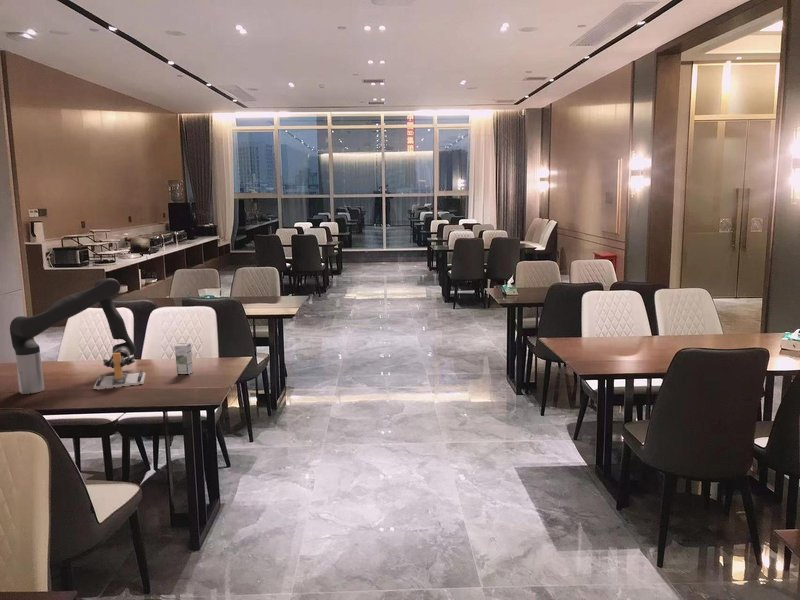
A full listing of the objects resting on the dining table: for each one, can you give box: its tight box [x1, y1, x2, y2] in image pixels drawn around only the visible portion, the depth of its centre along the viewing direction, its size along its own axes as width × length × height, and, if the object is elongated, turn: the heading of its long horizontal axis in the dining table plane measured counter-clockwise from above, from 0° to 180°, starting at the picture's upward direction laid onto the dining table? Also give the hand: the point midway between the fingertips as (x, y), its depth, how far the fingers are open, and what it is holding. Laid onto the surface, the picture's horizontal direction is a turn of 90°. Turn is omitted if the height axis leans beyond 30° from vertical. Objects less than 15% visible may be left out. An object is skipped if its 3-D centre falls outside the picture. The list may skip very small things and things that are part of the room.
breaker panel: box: [93, 370, 146, 390], centre depth 289 cm, size 20×18×3 cm
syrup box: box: [174, 342, 194, 375], centre depth 299 cm, size 6×6×14 cm
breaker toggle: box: [112, 352, 126, 381], centre depth 283 cm, size 5×3×12 cm, turn 108°
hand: (116, 365), depth 281 cm, fingers closed on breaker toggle, 3 cm apart
